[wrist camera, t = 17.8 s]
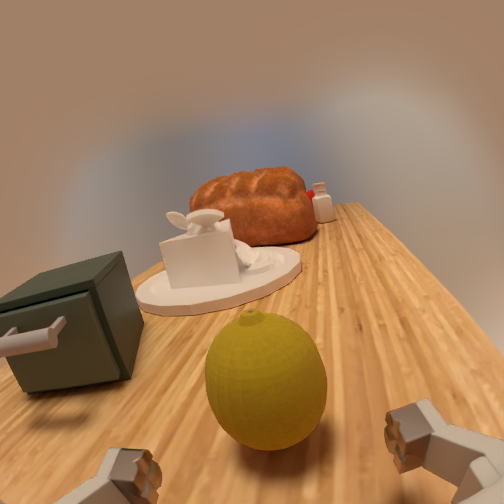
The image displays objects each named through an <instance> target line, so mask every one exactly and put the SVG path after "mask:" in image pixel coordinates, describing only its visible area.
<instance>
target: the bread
mask: <svg viewBox="0 0 504 504" xmlns="http://www.w3.org/2000/svg"><path fill="white" fill-rule="evenodd" d="M201 209H215V210H219V211H221V212H224V218H222V219H221V220H219V221H218V222H221V221H224V220H227V219H230V223H231V228H232V232H233V237H234V239H236V240H239V241H241V242H244V243H246V244H247V245H249V246H250V247H256V246H263V245H278V244H285V243H293V242H298V241H303V240H307V239H308V238H309V237H310V236H311V235H312V234H313V233H314V232H315V231H316V230H317V221H316V219H315V216H314V210H313V206H312V204H311V201H310V199H309V198H308V196H307V194H306V187H305V183H304V180H303V179H302V178H301V177H300V176H299V175H298V174H297V173H295V172H294V171H293V170H292V169H290V168H288V167H276V168H264V169H256V170H255V171H254V172H246V171H245V172H239V173H234V174H232V175H230V176H229V177H228V176H222V177H217V178H215V179H213V180H211V181H209V182H207V183H205V184H203V185H202V186H201V187H200V188H199V189H198V190H197V191H196V193H195V194H194V195H193V196H191V198H190V212H194V211H197V210H201ZM190 223H191V222H190Z"/></svg>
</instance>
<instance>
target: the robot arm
mask: <svg viewBox="0 0 504 504" xmlns="http://www.w3.org/2000/svg"><path fill="white" fill-rule="evenodd" d="M385 421H386V423H387V426H386V427H385V429H384V438H385V443H386V446H387V449H388V451H389V452H390V453H392V454H394V460H393V462H394V464H395V466H396V468H397V470H398V472H399V474H402V473H405V472H407V471H410V470H413V469H416V468H418V467H421V466H422V467H423V468H425V469H426V470H428V471H430V472H432V473H433V474H435V475H437V476H439V477H441V478H442V479H444V480H446V481H448V482H450V483H452V484H454V485H455V486H457V487H459V488H458V490H457V492H456V494H455V495H454V497H453V499H452V501H451V503H452V504H504V440H501V439H497V438H494V437H491V436H487V435H484V434H481V433H478V432H475V431H472V430H468V429H465V428H462V427H459V426H456V425H454V424H451V425H448V424H447V423H446V421H445V420H444V419H443V417H442V416H441V415H440V413H439V412H438V411H437V409H436V408H435V407H434V405H433V404H432V403H431V401H430V400H429V399H428V398H425V399H422V400H420V401H417V402H414V403H411V404H409V405H406V406H403V407H401V408H398V409H395V410H392V411H389V412H387V413H386V417H385ZM152 457H153V455H152V454H151V453H150V451H149V450H144V449H126V448H110V449H108V450H107V453H106V455H105V457H104V459H103V461H102V464H101V466H100V468H99V470H98V472H97V475H96V477H95V478H94V477H92V478H90V479H89V480H87V481H86V482H84V483H83V484H81V485H80V486H78V487H77V488H75V489H74V490H72V491H71V492H69V493H68V494H66V495H65V496H63V497H62V498H60V499H59V500H57V501H56V502H54V503H52V504H157V500H158V496H159V495H158V493H157V491H156V490H157V489H158V488H159V487H160V486H161V484H162V472H161V469H160V467H159V465H158V463H156V462H154V461H153V460H152Z"/></svg>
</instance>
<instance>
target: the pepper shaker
mask: <svg viewBox="0 0 504 504" xmlns="http://www.w3.org/2000/svg"><path fill="white" fill-rule="evenodd" d="M313 190H314V194H315V197H313V198H312V202H313V207H314V213H315V219H316V221H317V222H319V223H325V222H330V221H333V220H334V212H333V206H332V201H331V196H330V195H327V192H326V185H325V182H322V183H316V184H313Z"/></svg>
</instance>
